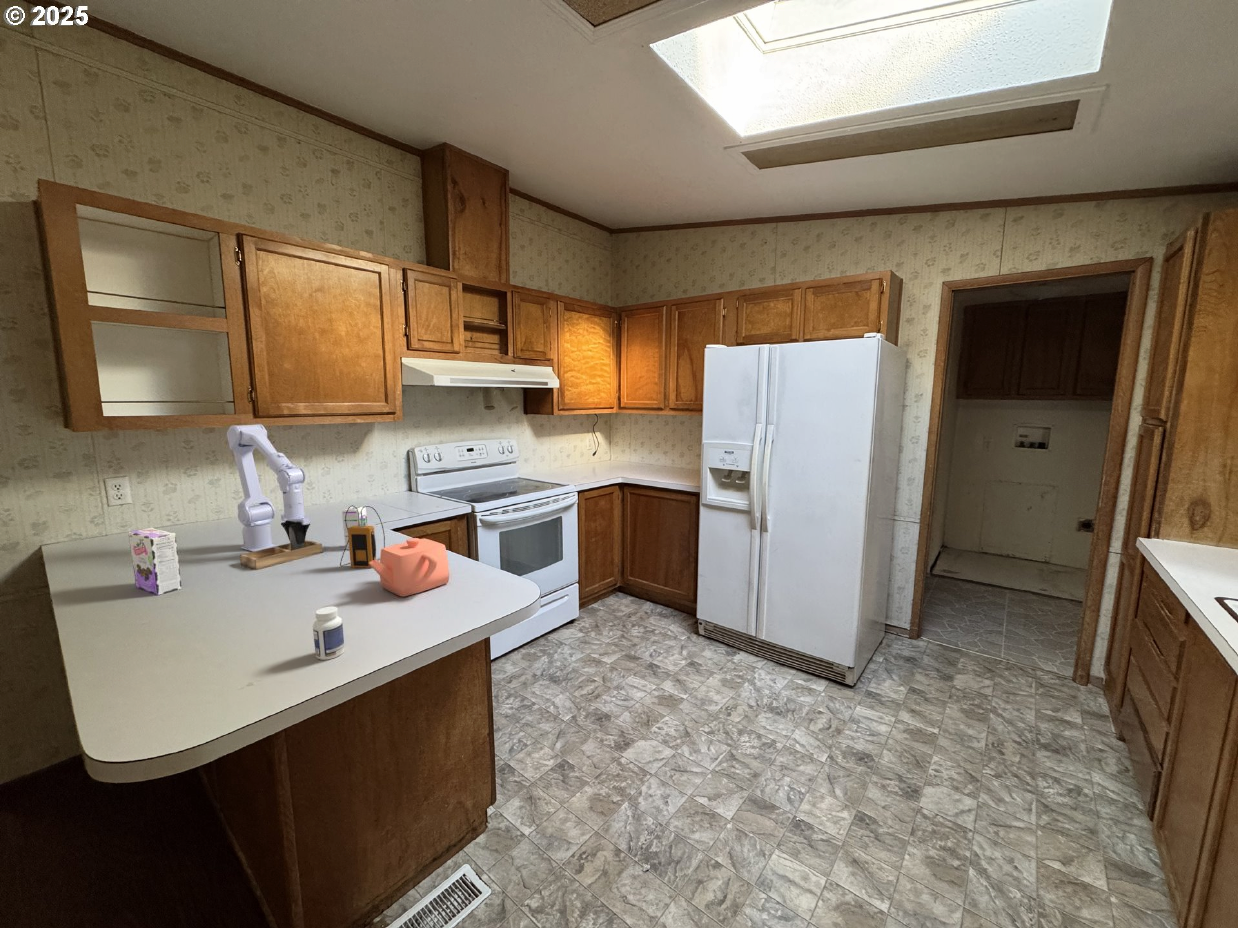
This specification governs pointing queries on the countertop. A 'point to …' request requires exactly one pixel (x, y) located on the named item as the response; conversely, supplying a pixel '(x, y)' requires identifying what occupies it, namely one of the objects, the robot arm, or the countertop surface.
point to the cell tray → (279, 555)
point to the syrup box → (353, 520)
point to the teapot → (412, 566)
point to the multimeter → (361, 543)
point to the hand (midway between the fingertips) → (297, 542)
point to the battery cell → (294, 541)
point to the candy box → (155, 560)
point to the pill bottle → (328, 633)
